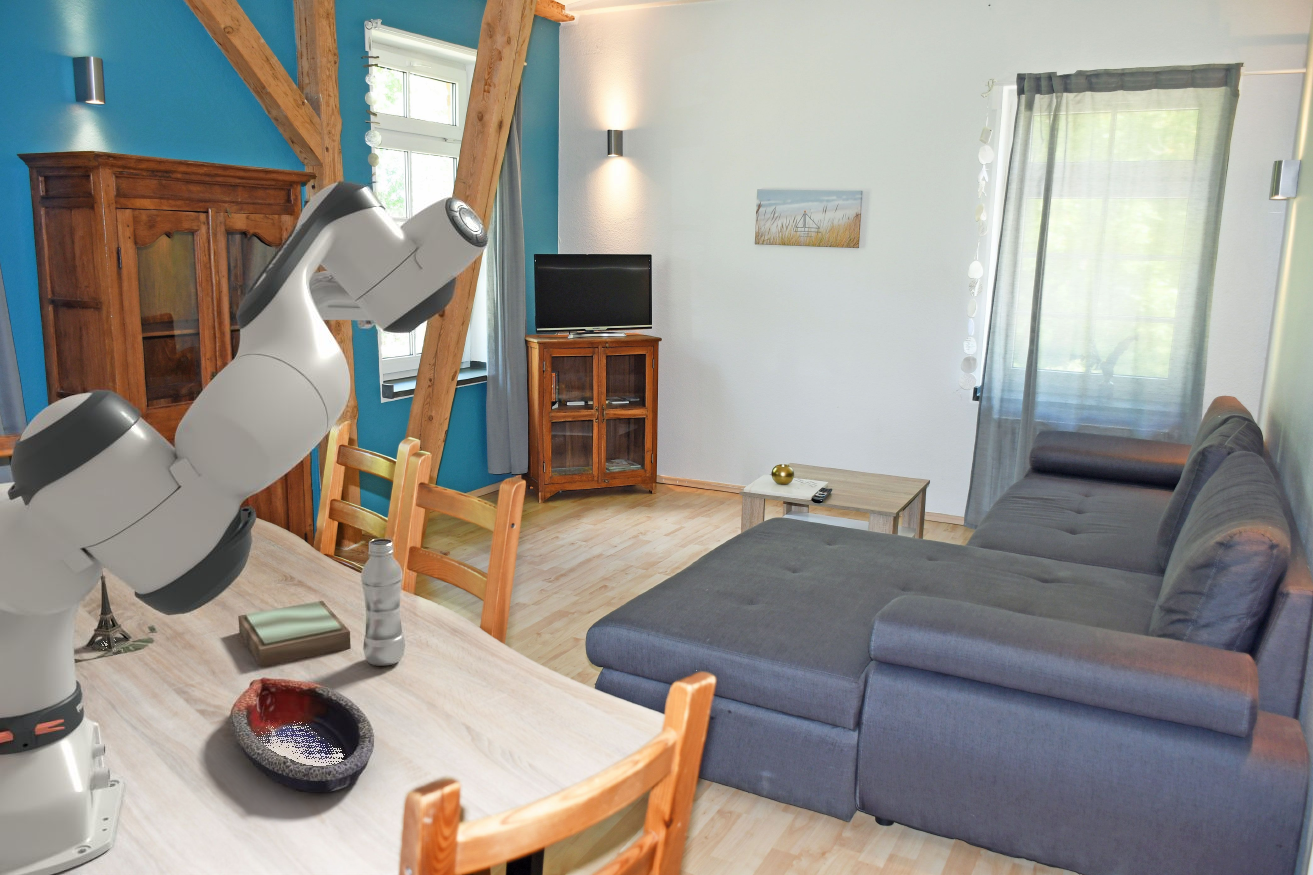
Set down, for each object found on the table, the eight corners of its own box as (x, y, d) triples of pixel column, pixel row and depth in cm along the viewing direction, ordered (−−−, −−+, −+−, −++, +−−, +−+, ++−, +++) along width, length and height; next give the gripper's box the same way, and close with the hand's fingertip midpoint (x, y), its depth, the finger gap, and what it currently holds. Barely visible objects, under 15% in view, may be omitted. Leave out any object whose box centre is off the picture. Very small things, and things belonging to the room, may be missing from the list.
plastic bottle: (363, 672, 151) (358, 549, 147) (364, 655, 157) (359, 536, 153) (406, 668, 152) (402, 547, 148) (405, 651, 159) (401, 534, 155)
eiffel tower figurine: (58, 669, 150) (49, 588, 148) (51, 647, 158) (43, 569, 156) (164, 648, 159) (158, 570, 157) (153, 627, 167) (147, 553, 165)
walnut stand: (350, 648, 160) (349, 628, 159) (261, 667, 152) (259, 646, 151) (323, 616, 172) (322, 598, 172) (239, 632, 165) (238, 613, 164)
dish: (276, 824, 112) (274, 784, 111) (210, 718, 136) (208, 685, 135) (404, 781, 121) (403, 745, 120) (321, 690, 145) (319, 659, 144)
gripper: (329, 299, 116) (270, 345, 124) (457, 303, 133) (398, 344, 141) (315, 251, 117) (257, 300, 125) (444, 261, 134) (385, 304, 142)
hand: (333, 323), depth 133 cm, fingers open, 8 cm apart
